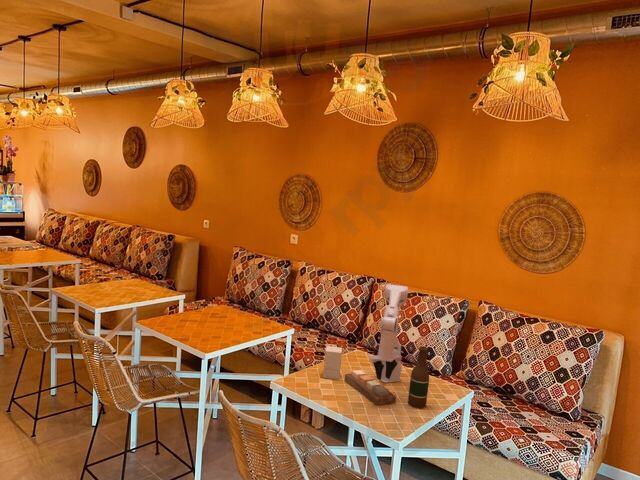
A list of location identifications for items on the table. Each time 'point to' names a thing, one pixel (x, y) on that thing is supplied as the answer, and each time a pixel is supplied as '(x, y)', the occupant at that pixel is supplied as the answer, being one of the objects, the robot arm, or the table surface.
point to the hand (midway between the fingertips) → (383, 378)
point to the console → (369, 392)
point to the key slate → (381, 391)
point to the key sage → (372, 384)
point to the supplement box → (332, 362)
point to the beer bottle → (419, 381)
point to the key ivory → (358, 374)
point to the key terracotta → (365, 379)
